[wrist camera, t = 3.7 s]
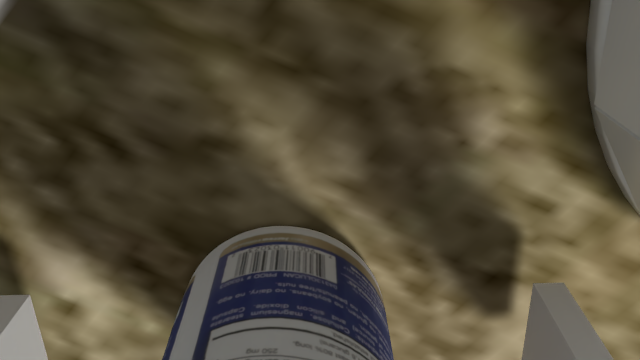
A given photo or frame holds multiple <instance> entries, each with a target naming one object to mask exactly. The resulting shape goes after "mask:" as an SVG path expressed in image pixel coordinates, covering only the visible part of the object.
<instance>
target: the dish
mask: <svg viewBox="0 0 640 360" xmlns="http://www.w3.org/2000/svg"><path fill="white" fill-rule="evenodd" d="M586 53H587V82H588V94H589V99H590V105H591V110H592V116H593V121H594V127H595V131H596V134H597V137H598V140H599V142H600V145H601V148H602V151H603V154H604V157H605V160H606V163H607V165H608V167H609V169H610V171H611V173H612V175H613V176H614V178H615V180H616V182H617V184H618V186H619V187H620V189H621V191H622V193H623V195H624V197H625V198H626V199H627V200H628V202H629V203H630V204H631V205H632V207H633V208H634V209H635V210H636V212H637V213H638V214H639V216H640V0H591V2H590V12H589V22H588V32H587V42H586Z"/></svg>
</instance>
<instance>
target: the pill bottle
mask: <svg viewBox="0 0 640 360" xmlns="http://www.w3.org/2000/svg"><path fill="white" fill-rule="evenodd" d="M162 360H394V359H393V353H392V347H391V342H390V336H389V330H388V325H387V319H386V313H385V308H384V304H383V299H382V295H381V292H380V288H379V286H378V283H377V281H376V279H375V277H374V275H373V274H372V272H371V270H370V269H369V268H368V266H367V265H366V263H365V262H364V261H363V260H362V259H361V258H360V257H359V256H358V255H357V254H356V253H355V252H354V251H353V250H351V249H350V248H349V247H348V246H346V245H345V244H343V243H342V242H340V241H338V240H337V239H335V238H333V237H330V236H328V235H326V234H324V233H321V232H318V231H314V230H310V229H307V228H301V227H294V226H270V227H262V228H257V229H254V230H250V231H246V232H244V233H241V234H239V235H237V236H235V237H233V238H231V239H229V240H227V241H225V242H224V243H222V244H220V245H219V246H218V247H216V248H215V249H214V250H213V251H212V252H210V253H209V254H208V255H207V256H206V257H205V259H204V260H203V261H202V262H201V263H200V265H199V266H198V268H197V269H196V271H195V272H194V274H193V276H192V278H191V280H190V282H189V284H188V286H187V288H186V291H185V293H184V296H183V298H182V301H181V305H180V307H179V310H178V313H177V316H176V319H175V322H174V325H173V328H172V331H171V334H170V337H169V340H168V344H167V347H166V350H165V353H164V356H163V359H162Z"/></svg>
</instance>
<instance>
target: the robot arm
mask: <svg viewBox="0 0 640 360" xmlns="http://www.w3.org/2000/svg"><path fill="white" fill-rule="evenodd" d="M0 360H48V358H47V354H46V351H45V347H44V343H43V340H42V336H41V333H40V329H39V326H38V322H37V318H36V315H35V311H34V308H33V304H32V301H31V297H30V295H0ZM522 360H614V359H613V358H612V356H611V355H610V353H609V352H608V350H607V349H606V347H605V345H604V344H603V342H602V341H601V339H600V338H599V336H598V335H597V333H596V332H595V330H594V328H593V327H592V325H591V324H590V322H589V321H588V319H587V318H586V316H585V315H584V313H583V312H582V310H581V308H580V307H579V305H578V304H577V302H576V301H575V299H574V298H573V296H572V295H571V293H570V291H569V290H568V288H567V287H566V285H565V284H564V283H533V289H532V295H531V302H530V308H529V315H528V321H527V328H526V335H525V341H524V348H523V354H522Z"/></svg>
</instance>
